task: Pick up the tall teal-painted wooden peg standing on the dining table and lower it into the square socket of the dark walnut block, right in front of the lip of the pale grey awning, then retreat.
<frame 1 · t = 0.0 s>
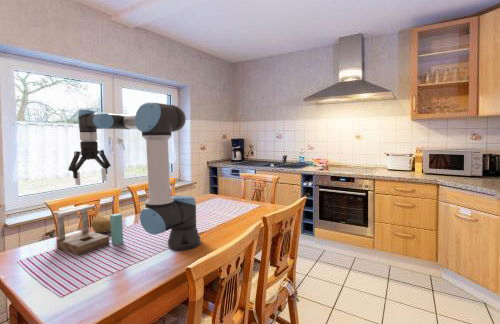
hand: (91, 182, 140), 28 cm above the table, fingers open, 13 cm apart
peg: (117, 242, 133), on the table
potato: (103, 232, 148), on the table
socket stand: (87, 247, 128), on the table
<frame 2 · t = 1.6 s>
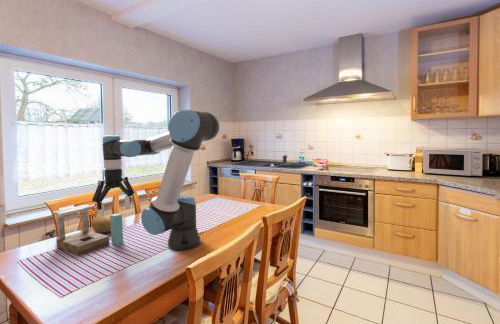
hand: (115, 212, 132), 15 cm above the table, fingers open, 13 cm apart
nothing on the table moved.
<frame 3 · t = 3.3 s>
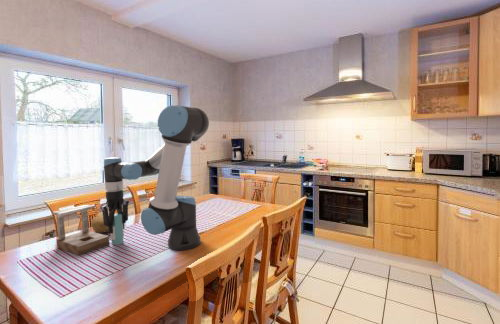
hand: (117, 237, 133), 3 cm above the table, fingers closed on peg, 4 cm apart
peg: (117, 242, 133), on the table, touching gripper
everything else where it was.
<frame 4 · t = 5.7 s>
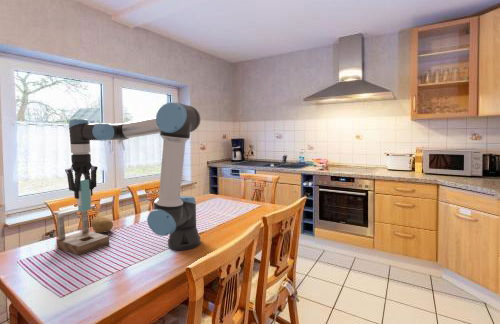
hand: (84, 204, 126), 20 cm above the table, fingers closed on peg, 4 cm apart
peg: (84, 209, 126), point 18 cm above the table, touching gripper
everything else where it was.
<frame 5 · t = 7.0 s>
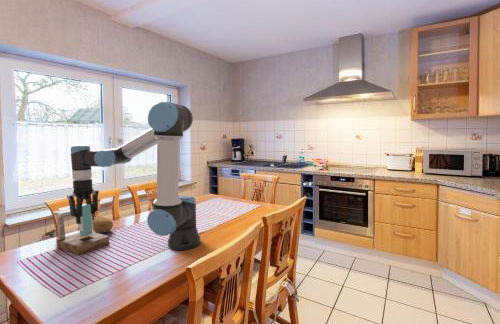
hand: (85, 228, 127), 9 cm above the table, fingers closed on peg, 4 cm apart
peg: (86, 234, 128), point 6 cm above the table, touching gripper
everything else where it was.
when the fingers open (6 cm above the table, at t = 7.9 s): peg drops 3 cm, resting in socket stand.
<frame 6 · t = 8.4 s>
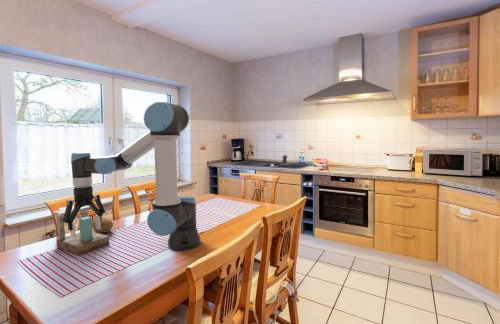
hand: (86, 232, 127), 7 cm above the table, fingers open, 11 cm apart
peg: (87, 247, 128), resting in socket stand
everything else where it was.
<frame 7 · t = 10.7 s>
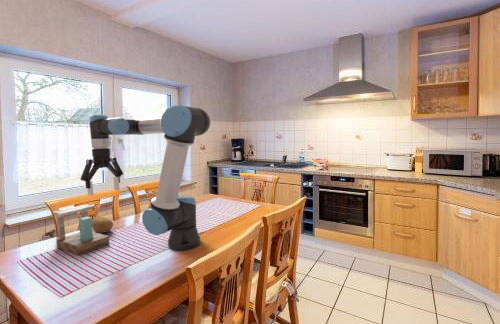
hand: (104, 192, 131), 25 cm above the table, fingers open, 13 cm apart
nothing on the table moved.
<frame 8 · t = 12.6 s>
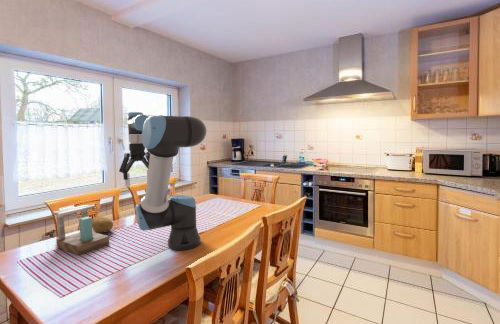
hand: (139, 183, 142), 27 cm above the table, fingers open, 13 cm apart
nothing on the table moved.
at the end: peg 0.0 cm off-centre on the socket stand, point 0.0 cm above the socket stand's base; peg tilted 0°; the gripper is holding nothing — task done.
